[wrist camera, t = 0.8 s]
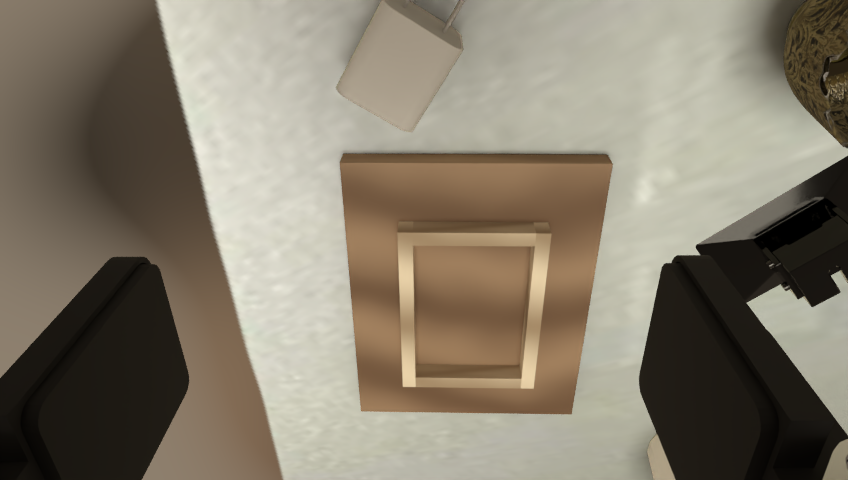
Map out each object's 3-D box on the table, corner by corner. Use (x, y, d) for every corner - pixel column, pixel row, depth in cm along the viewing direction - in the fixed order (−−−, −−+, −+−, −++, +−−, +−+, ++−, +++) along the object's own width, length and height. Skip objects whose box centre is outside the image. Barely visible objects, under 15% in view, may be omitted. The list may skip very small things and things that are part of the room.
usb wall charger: (346, 67, 30) (333, 91, 27) (416, -67, 27) (412, -60, 23) (415, 107, 31) (412, 136, 28) (491, -18, 28) (498, -3, 24)
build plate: (718, 320, 38) (750, 370, 34) (660, 243, 35) (687, 289, 31) (925, 208, 34) (989, 251, 30) (877, 111, 31) (941, 144, 27)
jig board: (343, 153, 32) (336, 172, 30) (607, 154, 32) (618, 173, 30) (363, 397, 41) (359, 425, 39) (568, 400, 41) (574, 428, 39)
